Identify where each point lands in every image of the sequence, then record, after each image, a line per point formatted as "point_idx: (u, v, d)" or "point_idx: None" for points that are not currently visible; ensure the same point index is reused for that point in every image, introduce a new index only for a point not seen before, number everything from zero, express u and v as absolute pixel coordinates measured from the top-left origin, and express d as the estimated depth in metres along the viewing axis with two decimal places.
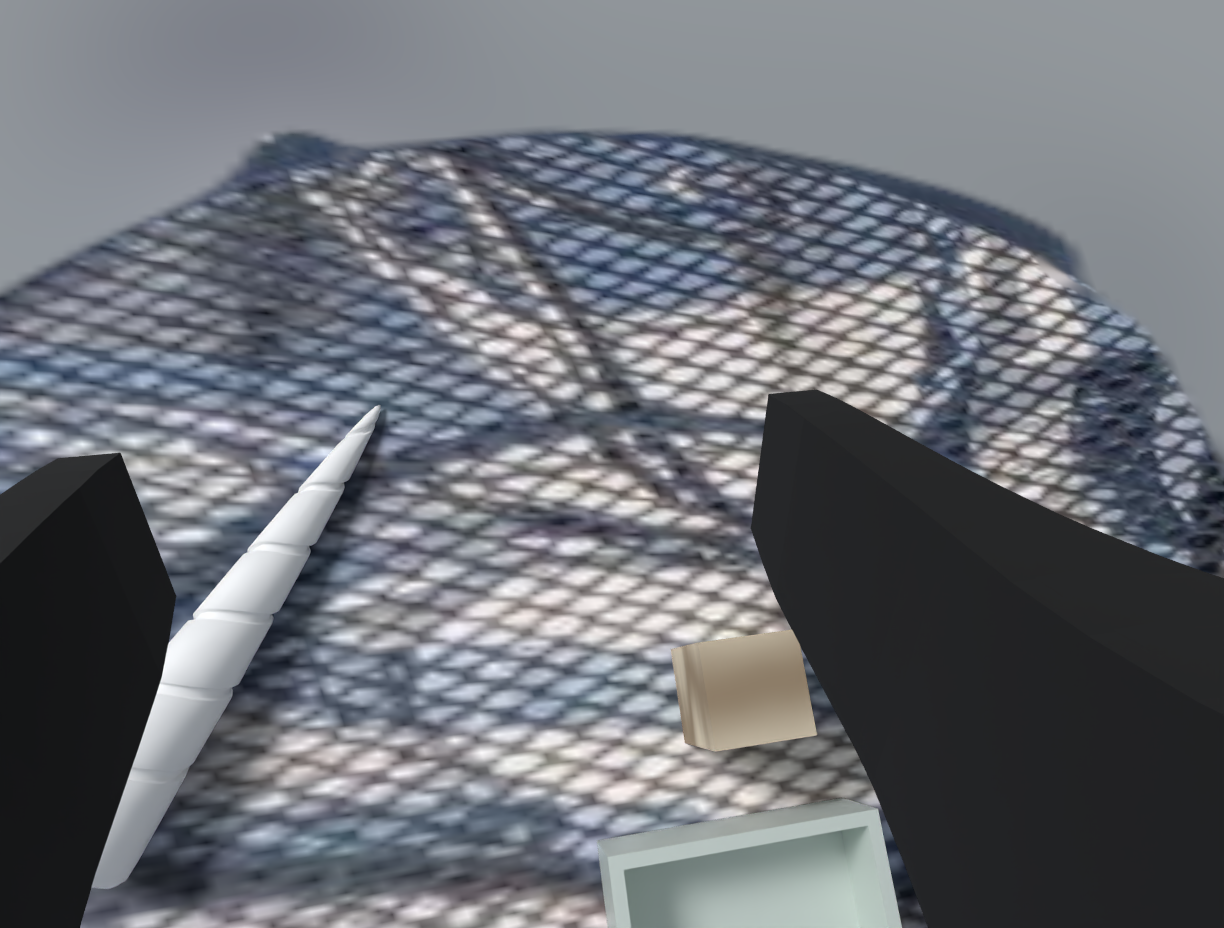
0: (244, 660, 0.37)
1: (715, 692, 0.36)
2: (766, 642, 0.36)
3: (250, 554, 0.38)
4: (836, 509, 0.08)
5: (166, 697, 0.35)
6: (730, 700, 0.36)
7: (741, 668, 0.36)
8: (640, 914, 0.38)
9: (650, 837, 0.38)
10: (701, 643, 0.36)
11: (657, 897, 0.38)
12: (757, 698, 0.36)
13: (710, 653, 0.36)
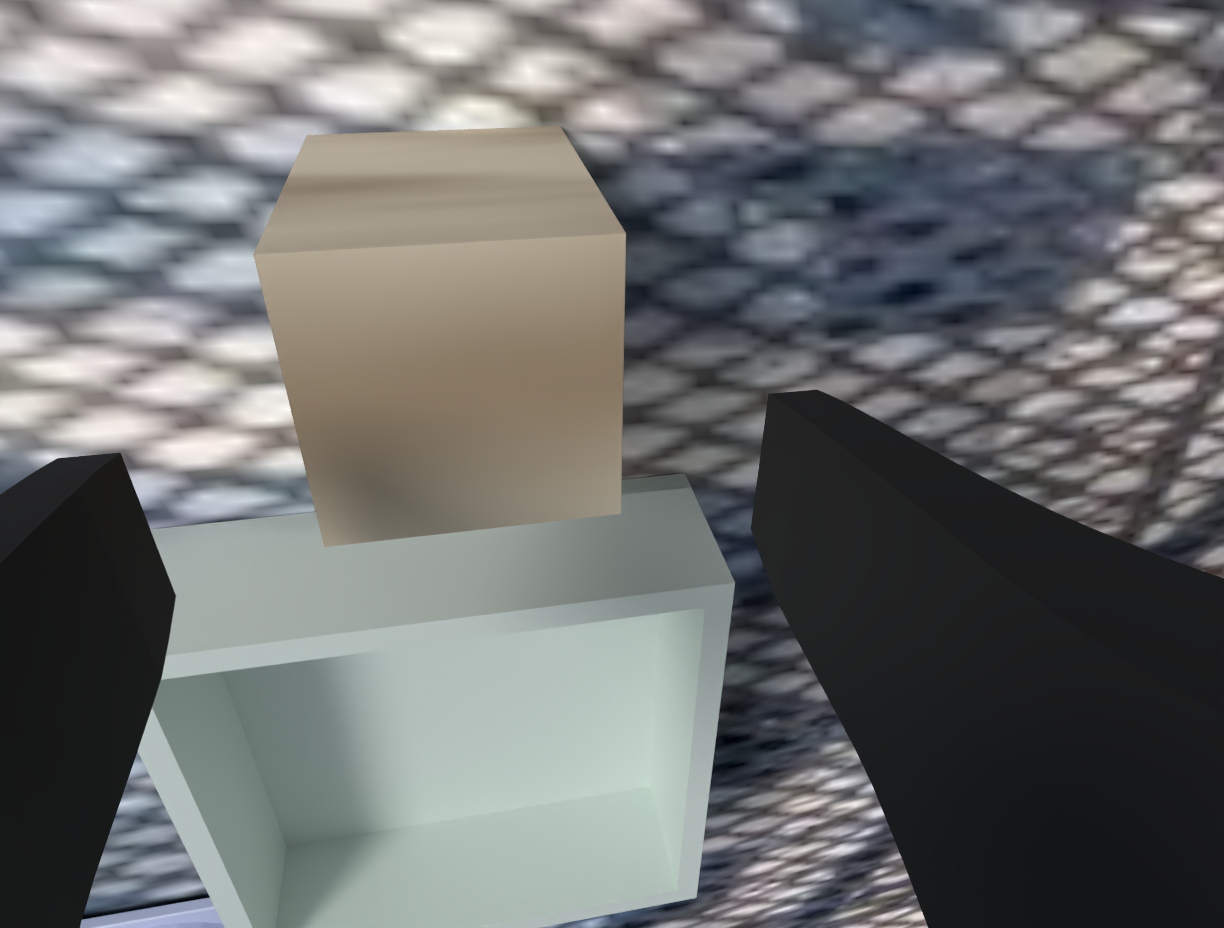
0: None
1: (322, 408, 0.11)
2: (511, 271, 0.11)
3: None
4: (836, 509, 0.08)
5: None
6: (372, 429, 0.11)
7: (416, 343, 0.11)
8: None
9: (250, 559, 0.18)
10: (267, 258, 0.10)
11: None
12: (460, 426, 0.12)
13: (303, 293, 0.10)
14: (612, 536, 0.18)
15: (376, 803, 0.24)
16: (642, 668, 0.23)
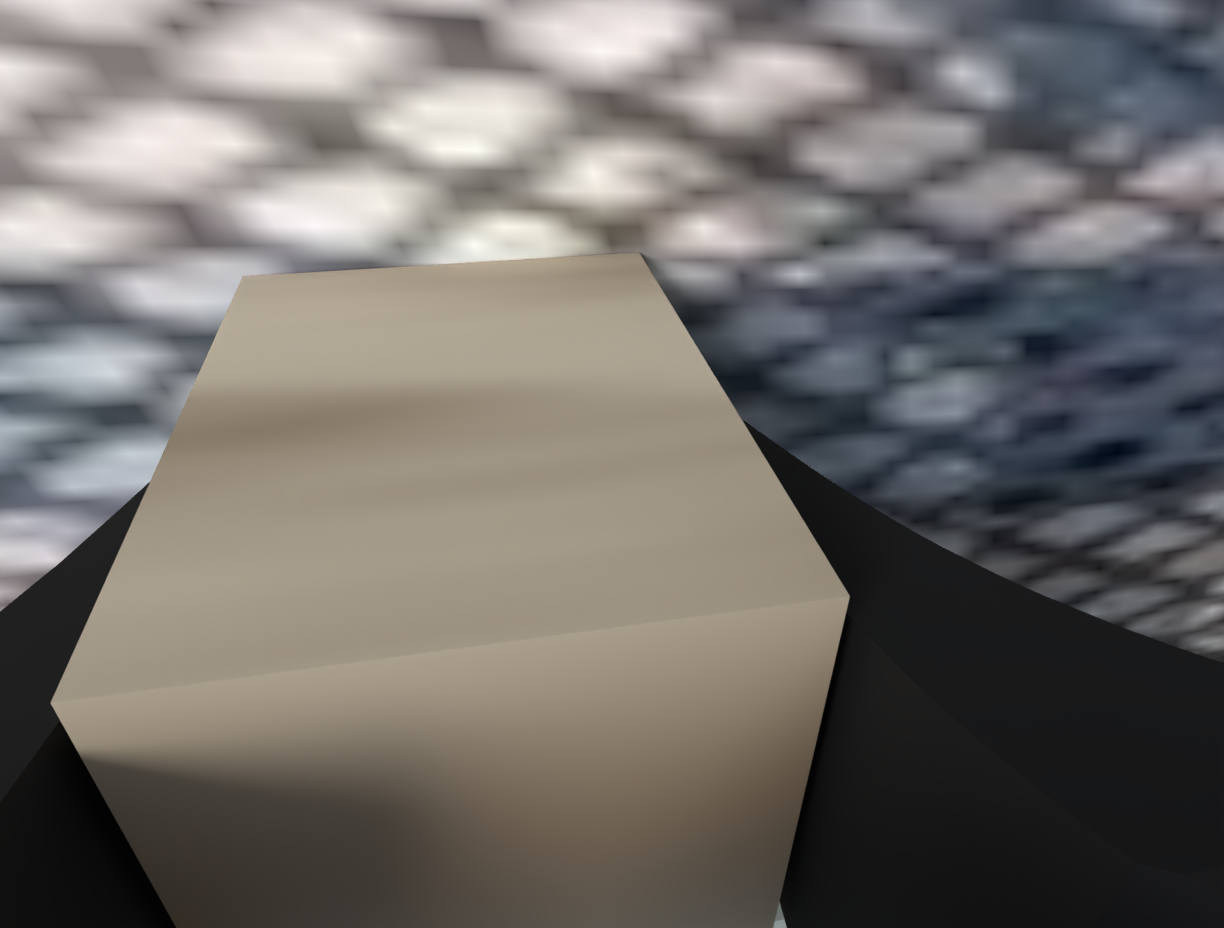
0: None
1: (232, 903, 0.06)
2: (613, 674, 0.05)
3: None
4: None
5: None
6: (332, 918, 0.06)
7: (416, 798, 0.05)
8: None
9: None
10: (83, 704, 0.04)
11: None
12: (499, 893, 0.06)
13: (172, 751, 0.05)
14: None
15: None
16: None
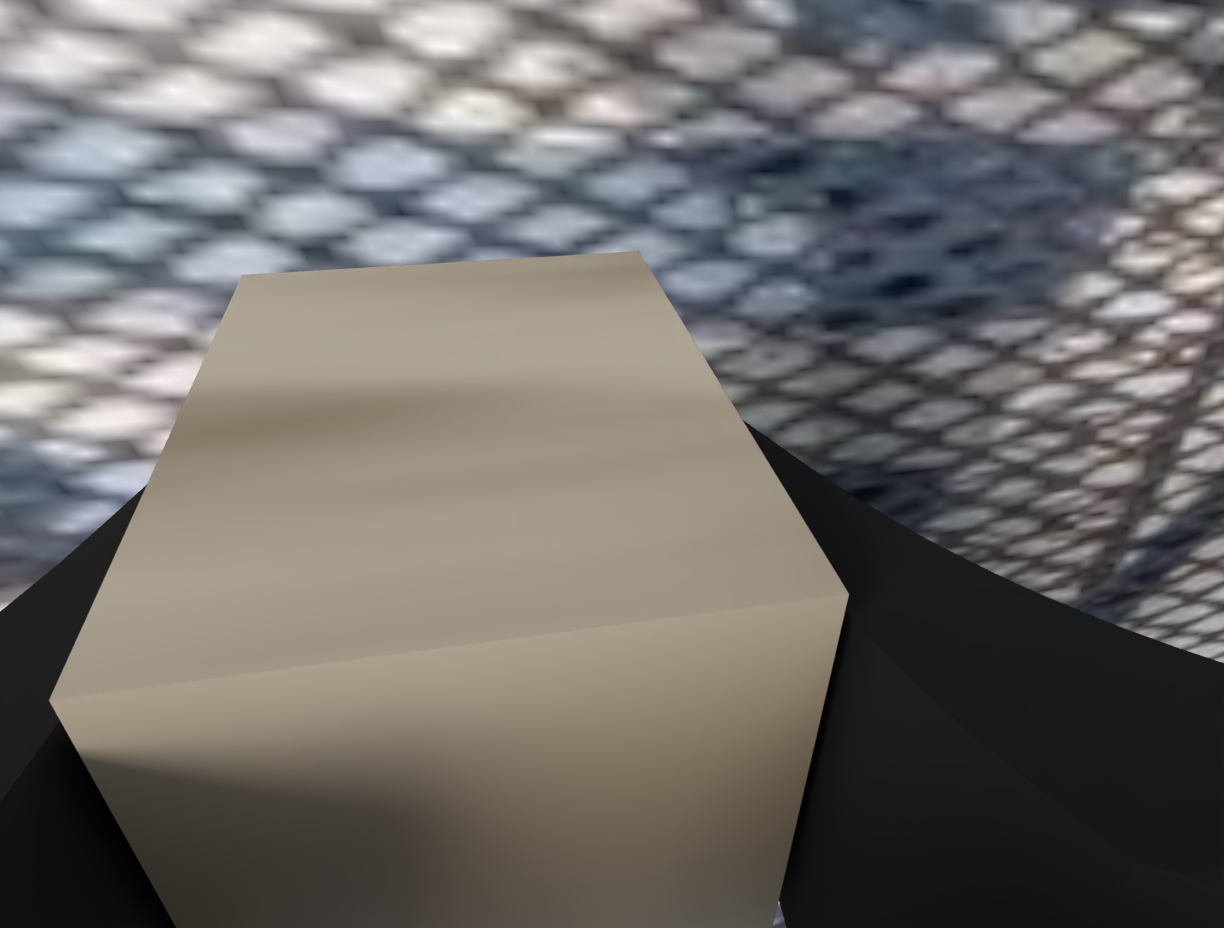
0: None
1: (231, 901, 0.06)
2: (613, 672, 0.05)
3: None
4: None
5: None
6: (331, 916, 0.06)
7: (414, 795, 0.05)
8: None
9: None
10: (81, 702, 0.04)
11: None
12: (499, 890, 0.06)
13: (171, 749, 0.05)
14: None
15: None
16: None
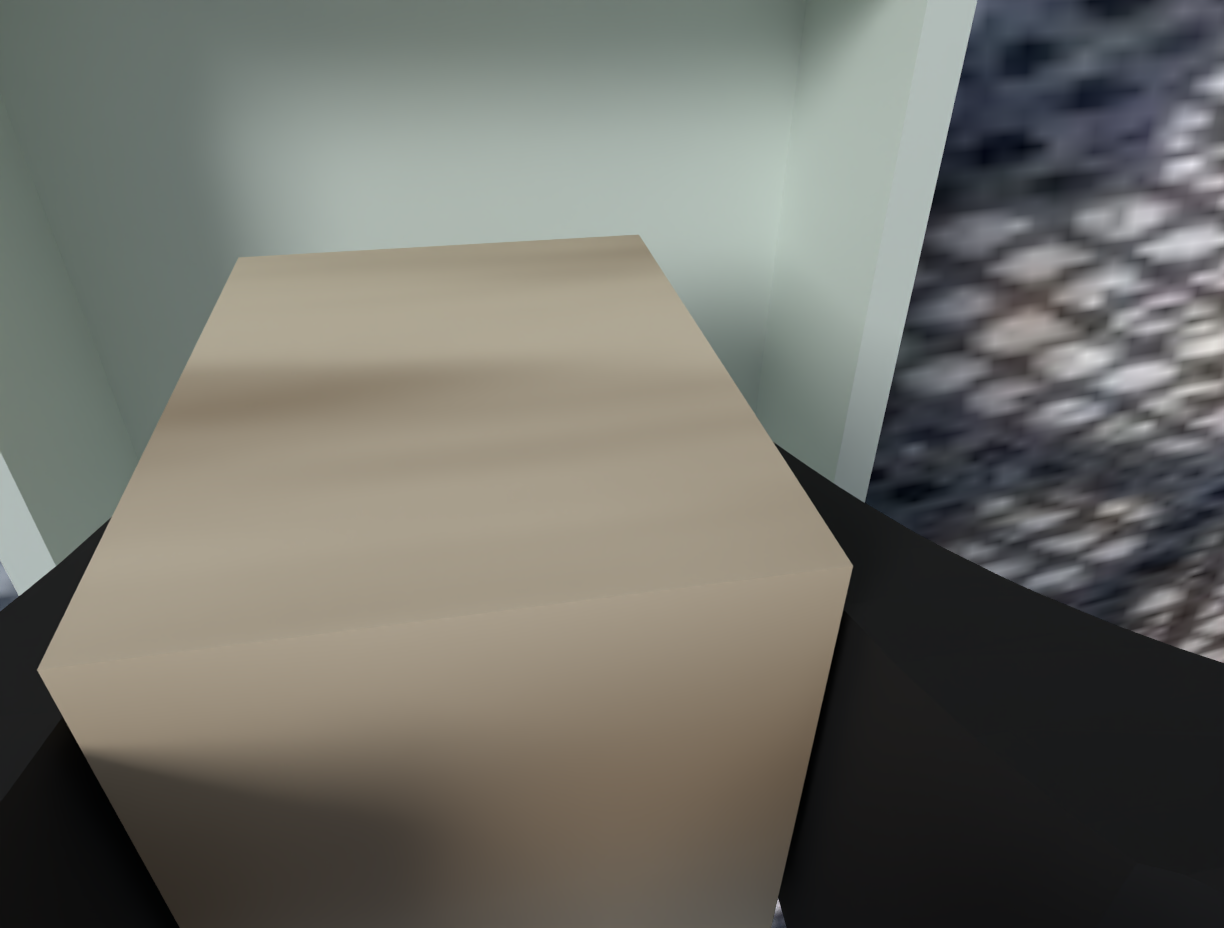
0: None
1: (224, 881, 0.06)
2: (613, 646, 0.05)
3: None
4: None
5: None
6: (326, 899, 0.06)
7: (411, 772, 0.05)
8: (94, 151, 0.11)
9: None
10: (70, 672, 0.04)
11: (151, 106, 0.11)
12: (496, 874, 0.06)
13: (162, 722, 0.05)
14: None
15: None
16: (748, 297, 0.15)
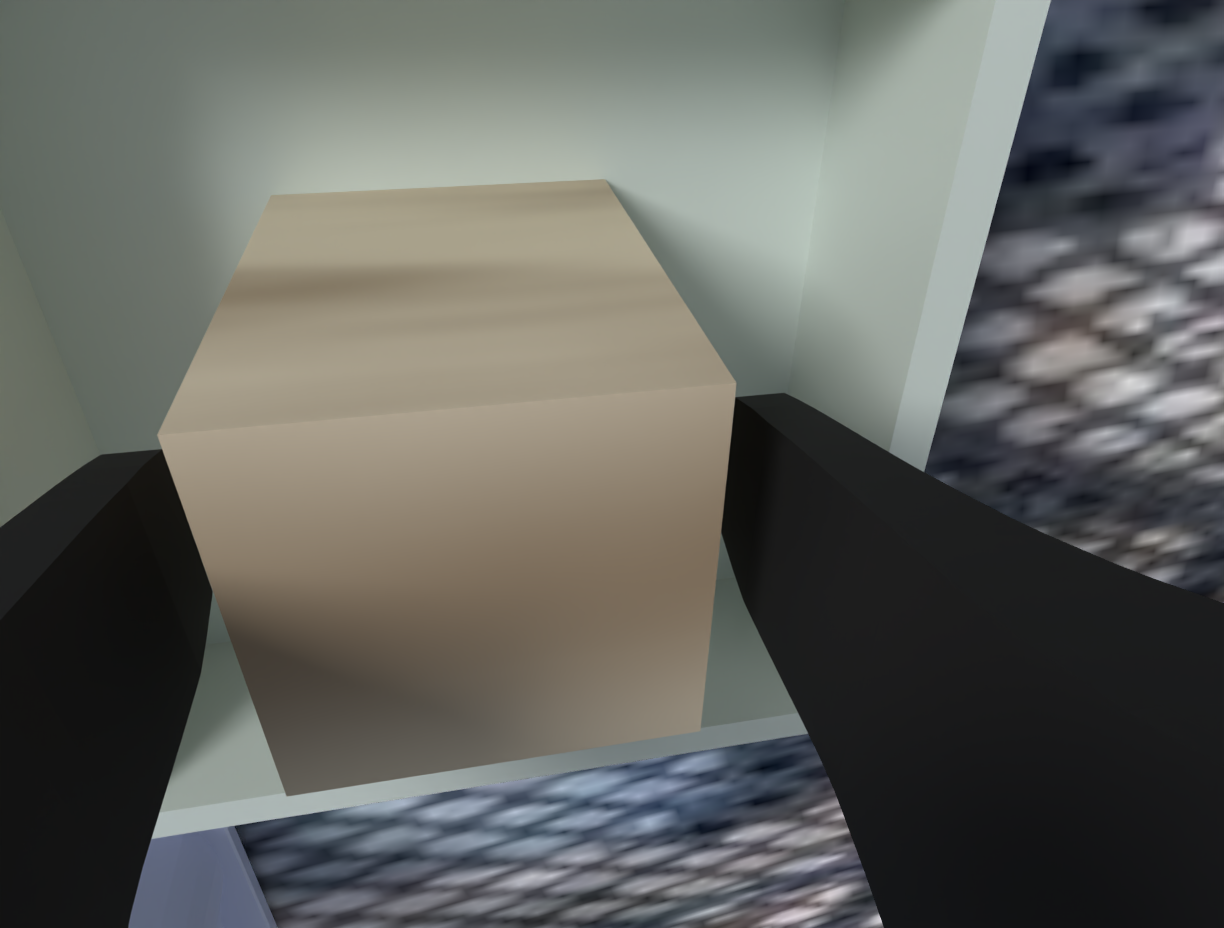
0: None
1: (277, 632, 0.07)
2: (562, 441, 0.07)
3: None
4: (798, 514, 0.08)
5: None
6: (352, 655, 0.08)
7: (416, 543, 0.07)
8: (66, 172, 0.10)
9: None
10: (179, 438, 0.06)
11: (127, 123, 0.10)
12: (481, 643, 0.08)
13: (239, 485, 0.07)
14: None
15: None
16: (774, 324, 0.14)
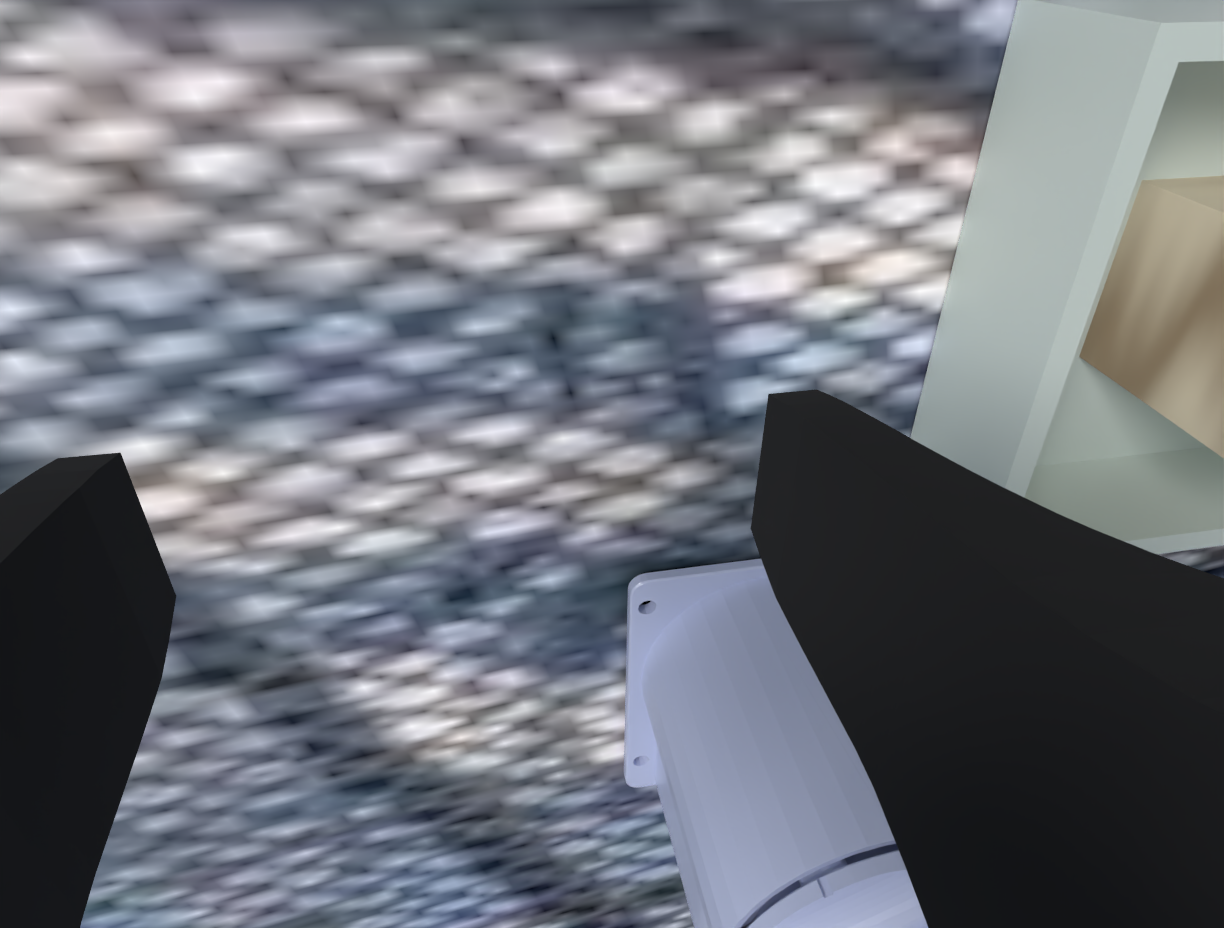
0: None
1: None
2: None
3: None
4: (836, 509, 0.08)
5: None
6: None
7: None
8: None
9: (1169, 4, 0.16)
10: None
11: None
12: None
13: None
14: None
15: None
16: None
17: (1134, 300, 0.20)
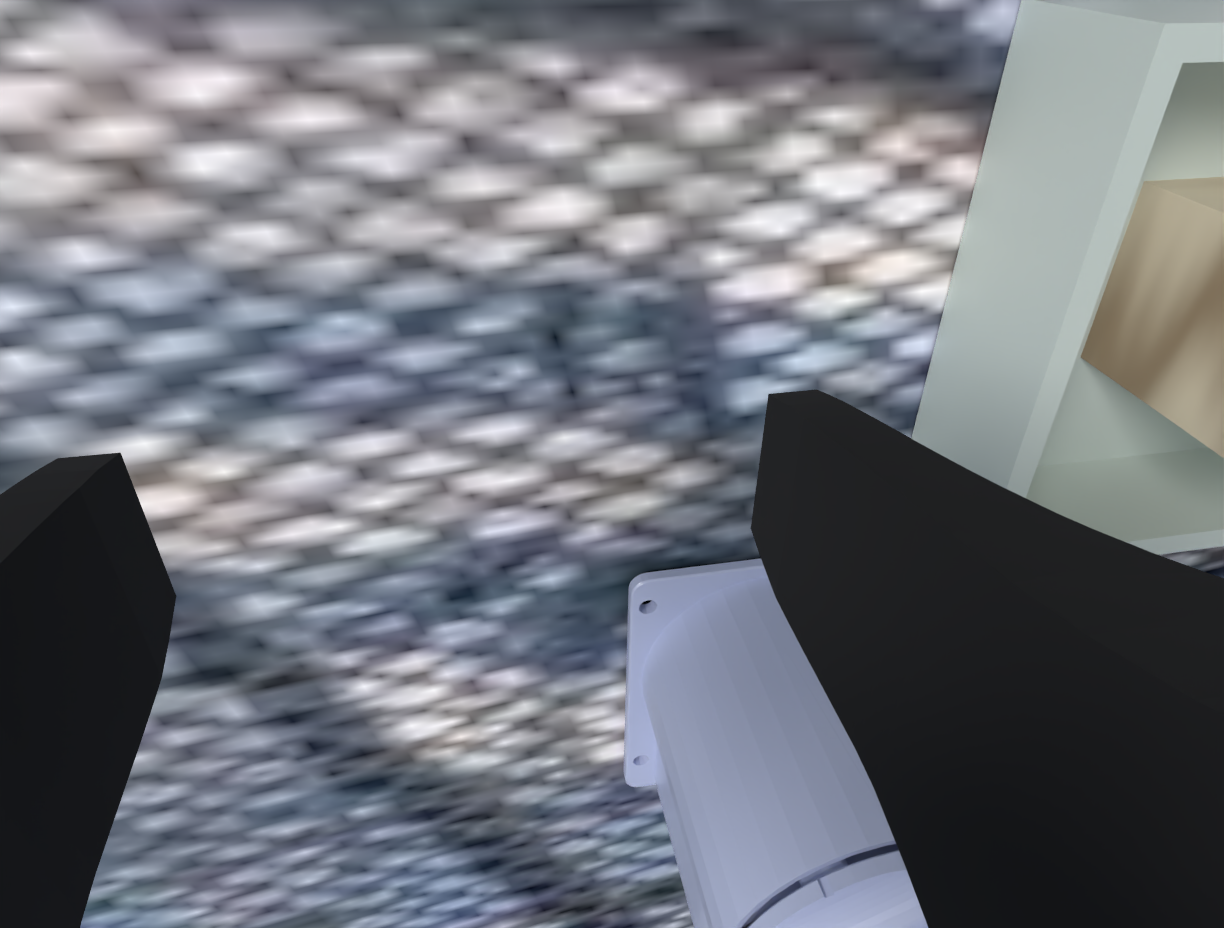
0: None
1: None
2: None
3: None
4: (836, 508, 0.08)
5: None
6: None
7: None
8: None
9: (1173, 4, 0.16)
10: None
11: None
12: None
13: None
14: None
15: None
16: None
17: (1136, 301, 0.20)
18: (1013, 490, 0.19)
